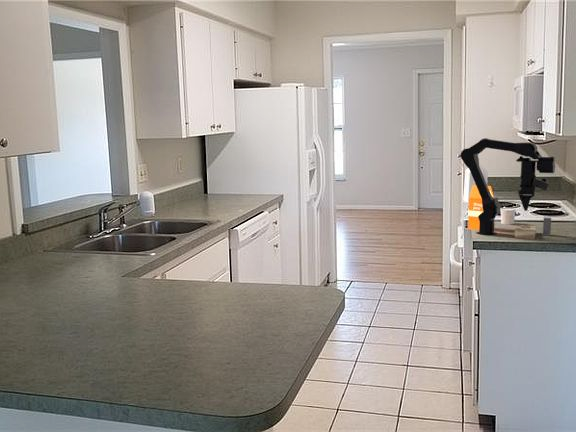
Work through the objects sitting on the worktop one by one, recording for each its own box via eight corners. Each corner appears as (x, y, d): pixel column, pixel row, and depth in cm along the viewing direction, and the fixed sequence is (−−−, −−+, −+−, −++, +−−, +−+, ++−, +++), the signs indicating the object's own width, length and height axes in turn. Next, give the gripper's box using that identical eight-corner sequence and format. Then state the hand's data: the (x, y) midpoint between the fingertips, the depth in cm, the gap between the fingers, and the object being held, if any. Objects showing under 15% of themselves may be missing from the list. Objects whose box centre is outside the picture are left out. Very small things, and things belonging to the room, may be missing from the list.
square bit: (550, 236, 272) (551, 218, 271) (542, 235, 273) (543, 218, 272) (550, 234, 275) (551, 217, 273) (542, 234, 276) (543, 217, 275)
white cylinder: (503, 222, 309) (503, 207, 308) (517, 223, 305) (517, 209, 303) (497, 223, 304) (498, 209, 303) (512, 225, 299) (512, 210, 298)
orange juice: (474, 226, 298) (476, 184, 294) (492, 228, 292) (494, 185, 289) (467, 228, 292) (469, 185, 288) (486, 230, 286) (487, 186, 283)
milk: (487, 203, 376) (489, 159, 372) (468, 203, 376) (469, 159, 372) (481, 200, 388) (483, 158, 384) (463, 200, 388) (464, 158, 384)
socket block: (534, 239, 265) (535, 232, 264) (514, 238, 268) (514, 231, 268) (535, 232, 280) (536, 226, 279) (516, 231, 283) (516, 225, 282)
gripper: (548, 174, 254) (546, 213, 257) (548, 171, 271) (546, 207, 274) (519, 174, 259) (517, 211, 261) (521, 170, 276) (519, 206, 278)
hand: (526, 209), depth 268 cm, fingers open, 9 cm apart
